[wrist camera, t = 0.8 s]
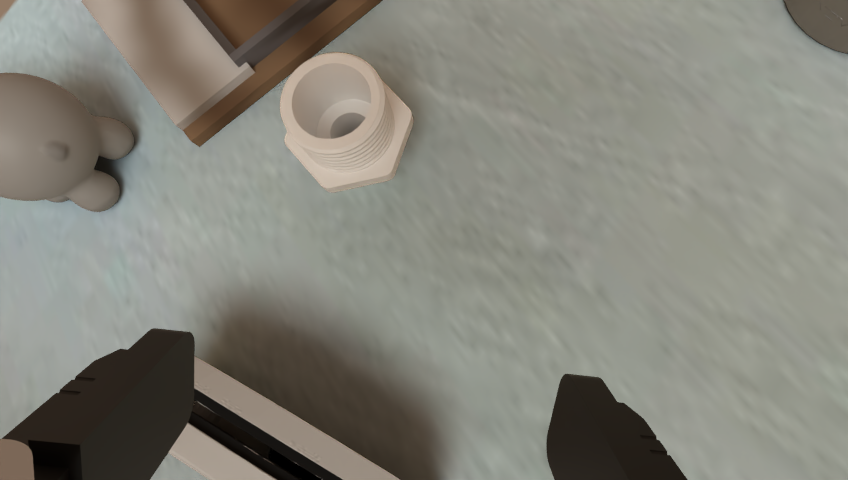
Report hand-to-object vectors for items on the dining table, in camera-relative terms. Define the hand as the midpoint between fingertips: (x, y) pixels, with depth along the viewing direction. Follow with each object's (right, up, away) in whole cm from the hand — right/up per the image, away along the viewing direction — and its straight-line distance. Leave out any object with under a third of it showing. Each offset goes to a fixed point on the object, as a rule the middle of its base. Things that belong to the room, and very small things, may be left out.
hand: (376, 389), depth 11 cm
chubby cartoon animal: (-24, +9, +23) cm, 34 cm away
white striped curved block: (-6, -9, +18) cm, 21 cm away
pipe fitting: (-3, +9, +21) cm, 23 cm away
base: (-10, +22, +24) cm, 34 cm away
